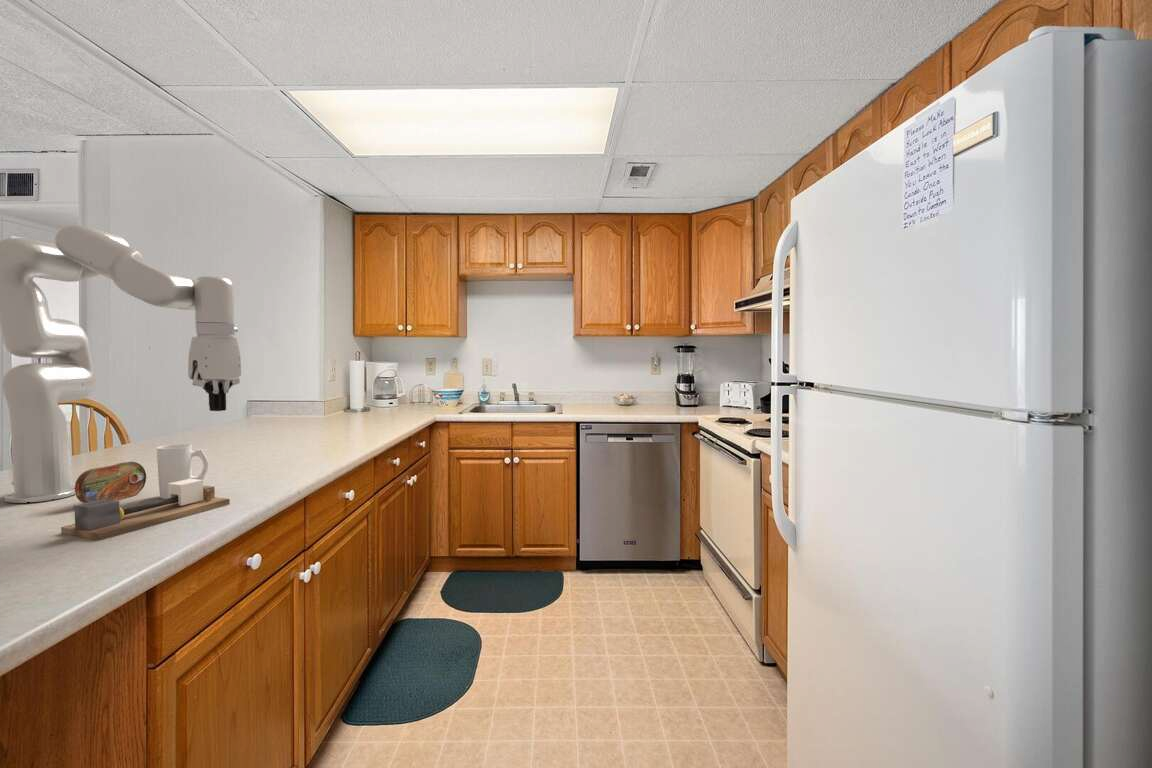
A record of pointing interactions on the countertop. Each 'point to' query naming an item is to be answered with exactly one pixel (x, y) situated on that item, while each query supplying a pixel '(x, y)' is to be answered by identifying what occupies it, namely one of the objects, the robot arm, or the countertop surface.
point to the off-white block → (186, 491)
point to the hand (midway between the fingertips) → (217, 410)
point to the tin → (110, 482)
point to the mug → (177, 465)
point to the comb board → (133, 515)
